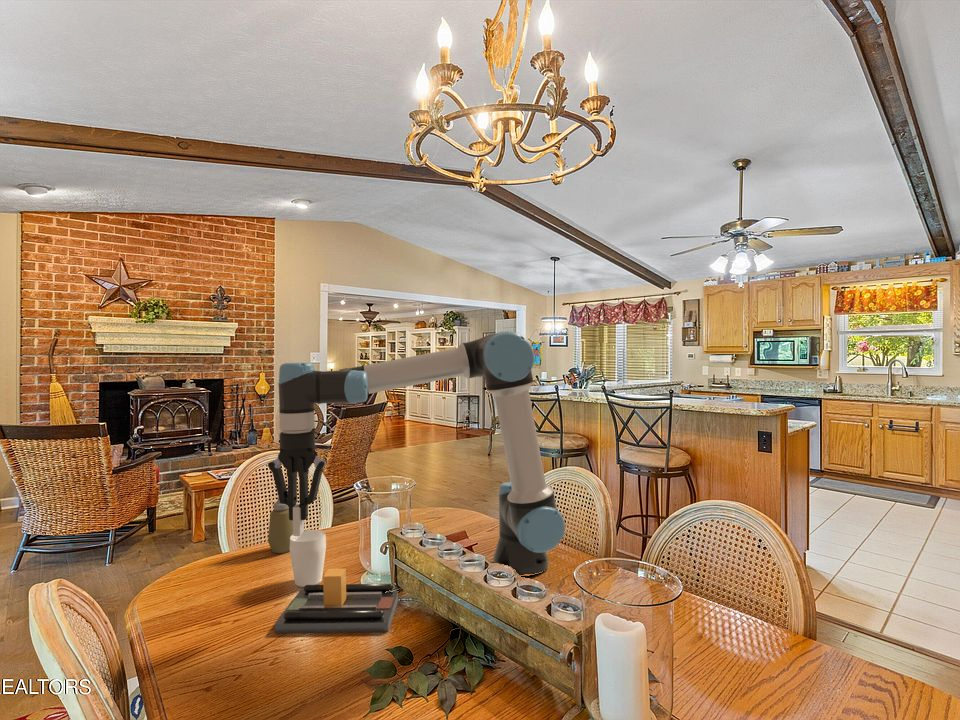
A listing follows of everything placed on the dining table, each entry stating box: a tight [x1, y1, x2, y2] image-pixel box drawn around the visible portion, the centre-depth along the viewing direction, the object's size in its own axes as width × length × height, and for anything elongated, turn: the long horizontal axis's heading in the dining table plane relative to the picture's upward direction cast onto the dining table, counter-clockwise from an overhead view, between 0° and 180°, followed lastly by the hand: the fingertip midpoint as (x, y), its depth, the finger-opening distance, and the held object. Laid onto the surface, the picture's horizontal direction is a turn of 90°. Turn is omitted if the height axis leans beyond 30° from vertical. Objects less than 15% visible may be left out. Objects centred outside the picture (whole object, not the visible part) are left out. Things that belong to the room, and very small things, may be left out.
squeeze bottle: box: [267, 497, 293, 554], centre depth 150 cm, size 8×8×18 cm
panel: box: [274, 583, 399, 634], centre depth 113 cm, size 24×16×4 cm, turn 90°
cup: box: [289, 529, 327, 588], centre depth 129 cm, size 9×9×12 cm
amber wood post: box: [322, 568, 347, 606], centre depth 113 cm, size 4×4×7 cm
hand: (298, 533), depth 113 cm, fingers closed
